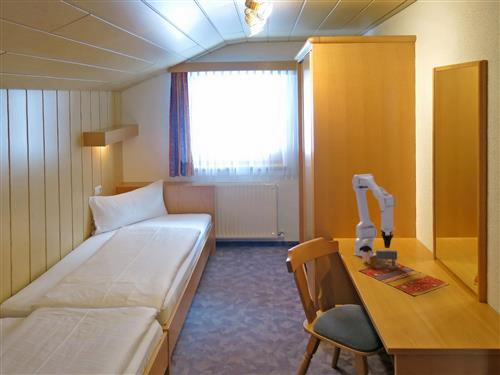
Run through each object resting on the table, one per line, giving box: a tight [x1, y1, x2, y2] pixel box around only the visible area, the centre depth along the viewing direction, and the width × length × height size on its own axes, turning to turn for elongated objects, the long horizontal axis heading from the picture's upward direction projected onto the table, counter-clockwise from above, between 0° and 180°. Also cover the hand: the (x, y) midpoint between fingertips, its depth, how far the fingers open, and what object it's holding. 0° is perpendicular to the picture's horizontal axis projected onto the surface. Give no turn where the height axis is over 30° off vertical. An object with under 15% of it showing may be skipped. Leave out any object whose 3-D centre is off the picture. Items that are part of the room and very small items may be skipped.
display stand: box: [374, 259, 399, 269], centre depth 266 cm, size 11×6×4 cm, turn 78°
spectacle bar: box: [375, 249, 398, 261], centre depth 266 cm, size 10×3×4 cm, turn 78°
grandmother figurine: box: [358, 239, 374, 265], centre depth 273 cm, size 8×4×13 cm, turn 84°
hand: (386, 245), depth 266 cm, fingers open, 7 cm apart
